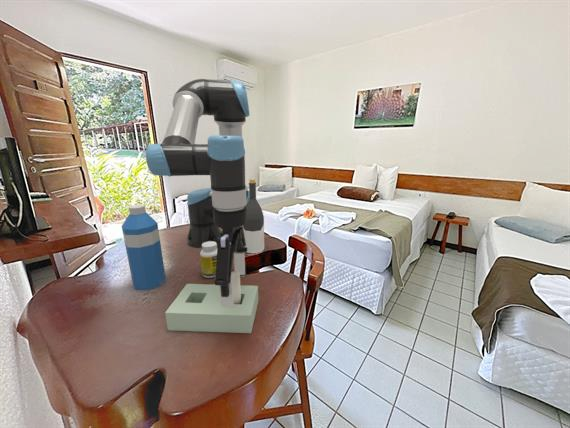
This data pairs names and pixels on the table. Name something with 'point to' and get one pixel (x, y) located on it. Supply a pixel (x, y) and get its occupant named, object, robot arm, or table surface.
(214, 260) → the pill bottle
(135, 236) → the water bottle
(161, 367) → the table surface
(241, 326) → the socket block
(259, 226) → the wine bottle
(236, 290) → the dowel
